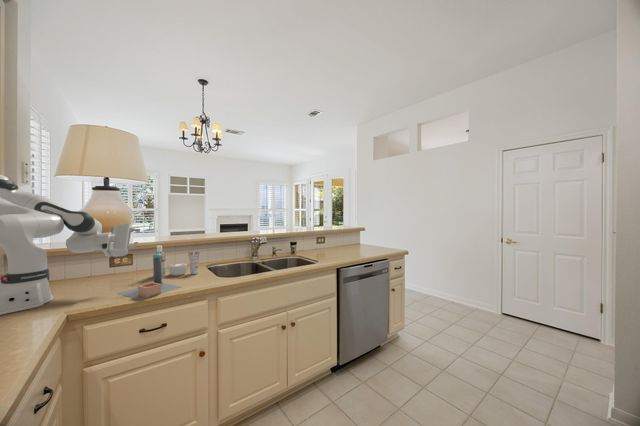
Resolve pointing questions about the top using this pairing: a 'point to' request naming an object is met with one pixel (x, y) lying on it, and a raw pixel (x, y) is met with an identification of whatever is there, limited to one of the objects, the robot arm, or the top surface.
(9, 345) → the top surface
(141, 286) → the pink open box
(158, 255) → the marker
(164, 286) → the board
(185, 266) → the cosmetic set
